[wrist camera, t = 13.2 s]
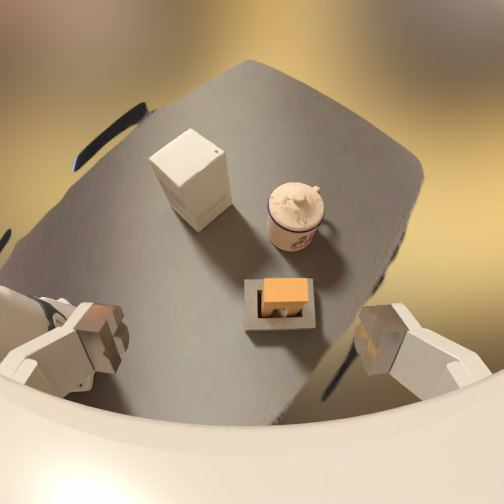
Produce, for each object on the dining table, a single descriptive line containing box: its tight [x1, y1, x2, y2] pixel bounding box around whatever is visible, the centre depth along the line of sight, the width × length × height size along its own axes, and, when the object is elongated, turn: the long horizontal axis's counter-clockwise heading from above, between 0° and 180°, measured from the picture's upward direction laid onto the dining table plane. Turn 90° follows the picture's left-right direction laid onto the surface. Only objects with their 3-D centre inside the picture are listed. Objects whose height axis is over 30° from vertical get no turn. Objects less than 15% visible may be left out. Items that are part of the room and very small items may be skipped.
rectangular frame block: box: [244, 279, 316, 332], centre depth 44 cm, size 8×11×3 cm
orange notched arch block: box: [261, 278, 309, 317], centre depth 40 cm, size 6×3×12 cm, turn 90°
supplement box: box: [149, 129, 232, 233], centre depth 46 cm, size 9×9×15 cm
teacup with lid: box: [267, 182, 325, 252], centre depth 46 cm, size 12×9×12 cm
